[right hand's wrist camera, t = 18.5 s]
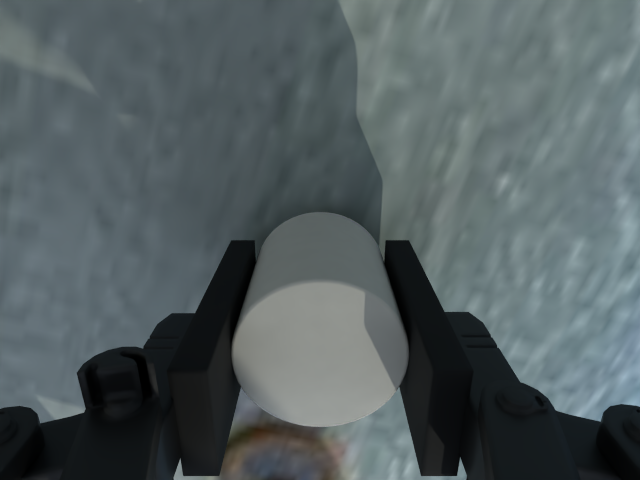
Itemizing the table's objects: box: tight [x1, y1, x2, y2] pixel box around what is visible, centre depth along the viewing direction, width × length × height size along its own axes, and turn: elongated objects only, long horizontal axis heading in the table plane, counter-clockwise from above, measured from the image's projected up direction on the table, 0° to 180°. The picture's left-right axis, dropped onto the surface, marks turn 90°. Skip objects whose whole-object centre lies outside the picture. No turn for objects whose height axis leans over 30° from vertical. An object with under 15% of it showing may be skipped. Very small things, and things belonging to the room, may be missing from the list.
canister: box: [231, 212, 409, 427], centre depth 13 cm, size 4×4×5 cm
